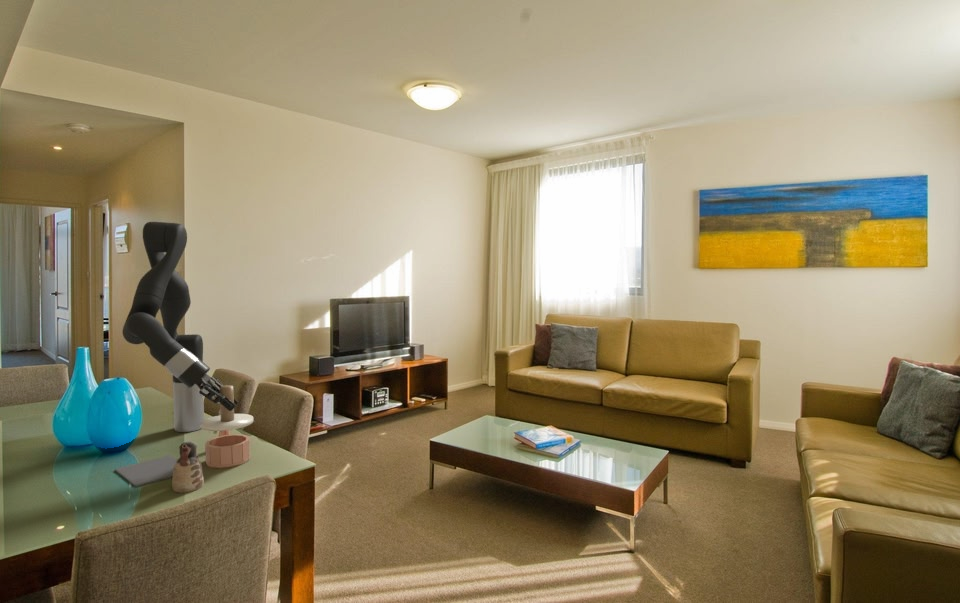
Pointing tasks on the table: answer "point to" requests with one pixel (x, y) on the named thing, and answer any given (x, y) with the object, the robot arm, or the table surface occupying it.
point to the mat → (148, 471)
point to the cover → (227, 416)
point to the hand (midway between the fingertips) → (234, 406)
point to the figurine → (187, 470)
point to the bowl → (227, 451)
